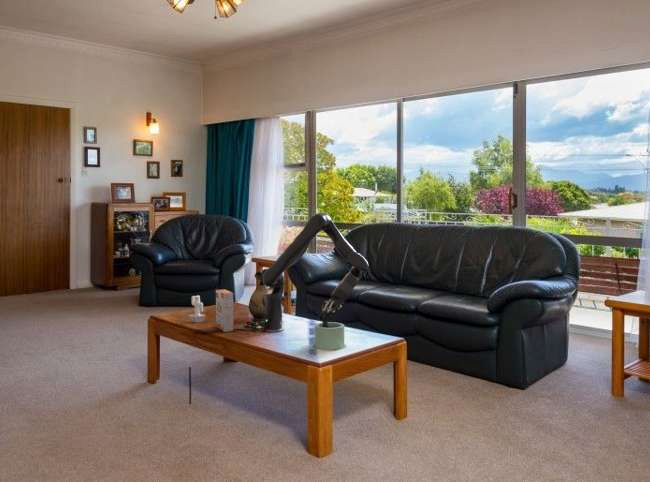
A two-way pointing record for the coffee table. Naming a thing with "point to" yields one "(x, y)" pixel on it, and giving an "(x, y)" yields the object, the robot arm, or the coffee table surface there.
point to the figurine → (197, 310)
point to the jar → (329, 336)
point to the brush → (324, 323)
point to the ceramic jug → (258, 299)
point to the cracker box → (224, 310)
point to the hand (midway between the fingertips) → (321, 319)
